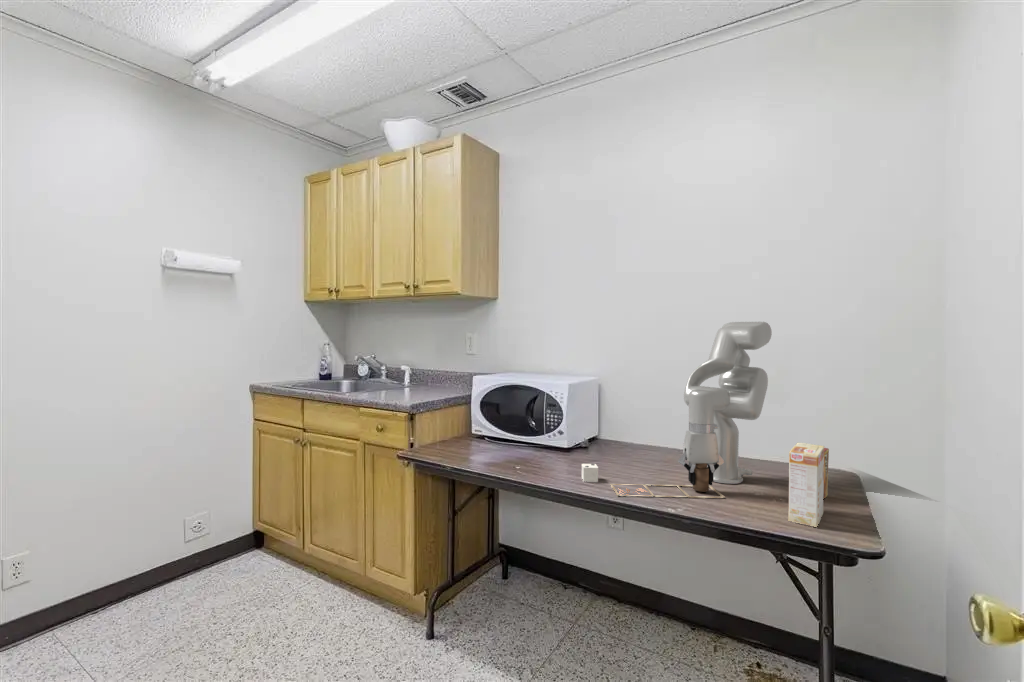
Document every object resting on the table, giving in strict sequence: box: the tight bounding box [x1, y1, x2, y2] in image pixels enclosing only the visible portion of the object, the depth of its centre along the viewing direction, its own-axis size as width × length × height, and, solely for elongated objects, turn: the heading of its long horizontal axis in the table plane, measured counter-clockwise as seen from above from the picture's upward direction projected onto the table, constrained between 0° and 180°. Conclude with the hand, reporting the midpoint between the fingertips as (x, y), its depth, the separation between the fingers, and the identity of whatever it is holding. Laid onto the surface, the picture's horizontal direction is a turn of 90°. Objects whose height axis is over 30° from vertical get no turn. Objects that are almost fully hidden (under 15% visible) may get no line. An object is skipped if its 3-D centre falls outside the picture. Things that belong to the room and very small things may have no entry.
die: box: [581, 463, 599, 483], centre depth 163 cm, size 5×5×5 cm
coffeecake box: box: [787, 442, 825, 528], centre depth 131 cm, size 15×7×20 cm, turn 141°
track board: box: [609, 483, 727, 499], centre depth 152 cm, size 34×12×1 cm, turn 89°
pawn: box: [692, 463, 710, 493], centre depth 152 cm, size 5×5×10 cm
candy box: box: [823, 447, 830, 500], centre depth 148 cm, size 9×4×15 cm, turn 137°
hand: (700, 483), depth 152 cm, fingers closed on pawn, 4 cm apart
